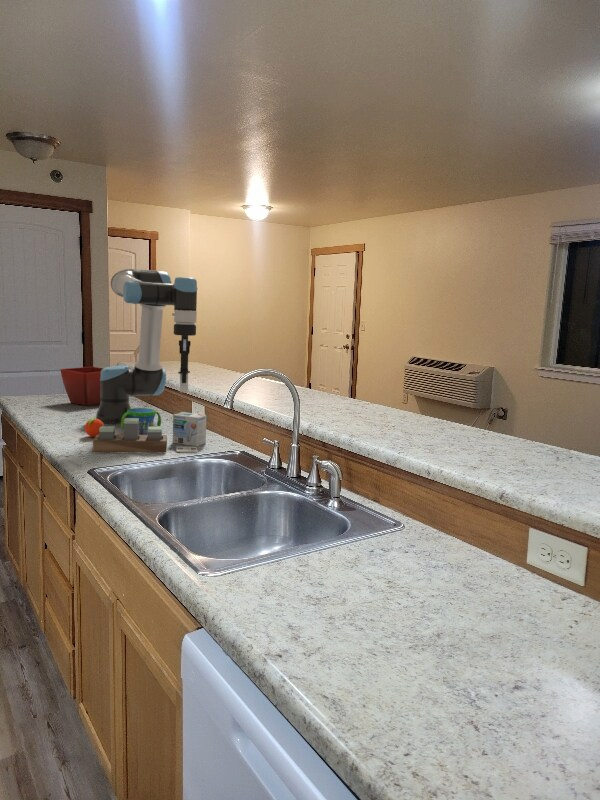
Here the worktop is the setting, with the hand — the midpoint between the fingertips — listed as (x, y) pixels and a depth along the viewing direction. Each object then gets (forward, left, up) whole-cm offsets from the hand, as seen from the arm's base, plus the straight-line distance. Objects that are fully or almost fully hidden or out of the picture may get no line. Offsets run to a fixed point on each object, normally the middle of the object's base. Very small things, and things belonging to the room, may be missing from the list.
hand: (183, 392), depth 207 cm
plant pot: (-97, -46, -21) cm, 109 cm away
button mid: (-1, -18, -17) cm, 24 cm away
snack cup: (-22, -16, -21) cm, 34 cm away
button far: (-1, -10, -20) cm, 22 cm away
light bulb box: (-11, +2, -21) cm, 24 cm away
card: (+1, +1, -21) cm, 21 cm away
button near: (-1, -26, -20) cm, 33 cm away
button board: (-1, -18, -21) cm, 27 cm away
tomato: (-20, -33, -21) cm, 44 cm away
